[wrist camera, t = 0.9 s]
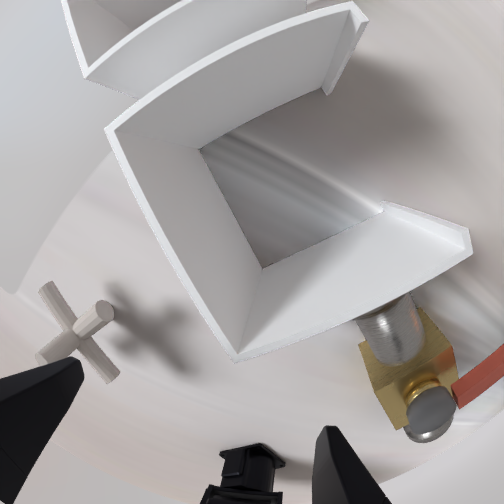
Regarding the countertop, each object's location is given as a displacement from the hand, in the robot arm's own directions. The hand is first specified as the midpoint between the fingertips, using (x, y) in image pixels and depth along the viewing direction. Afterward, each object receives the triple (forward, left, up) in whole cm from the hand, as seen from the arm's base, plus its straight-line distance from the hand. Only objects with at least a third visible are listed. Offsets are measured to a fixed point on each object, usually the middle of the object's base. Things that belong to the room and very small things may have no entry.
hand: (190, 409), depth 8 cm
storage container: (+11, -7, -14) cm, 20 cm away
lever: (-14, -13, -6) cm, 20 cm away
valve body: (-14, -7, -14) cm, 21 cm away
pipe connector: (+4, +15, -14) cm, 21 cm away
